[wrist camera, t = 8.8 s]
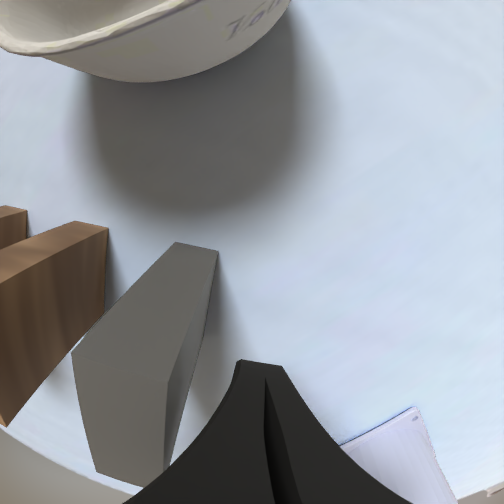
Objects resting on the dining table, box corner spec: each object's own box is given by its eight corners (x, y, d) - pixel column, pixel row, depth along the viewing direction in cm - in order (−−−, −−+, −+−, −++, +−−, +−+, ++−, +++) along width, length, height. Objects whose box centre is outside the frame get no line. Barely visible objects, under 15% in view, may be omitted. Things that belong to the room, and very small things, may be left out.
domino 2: (108, 227, 13) (-34, 303, 5) (104, 312, 15) (6, 427, 6) (74, 220, 13) (-68, 282, 5) (73, 303, 14) (-31, 401, 6)
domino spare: (218, 251, 14) (168, 382, 5) (202, 337, 15) (163, 492, 6) (175, 241, 14) (71, 352, 5) (164, 329, 15) (96, 472, 6)
